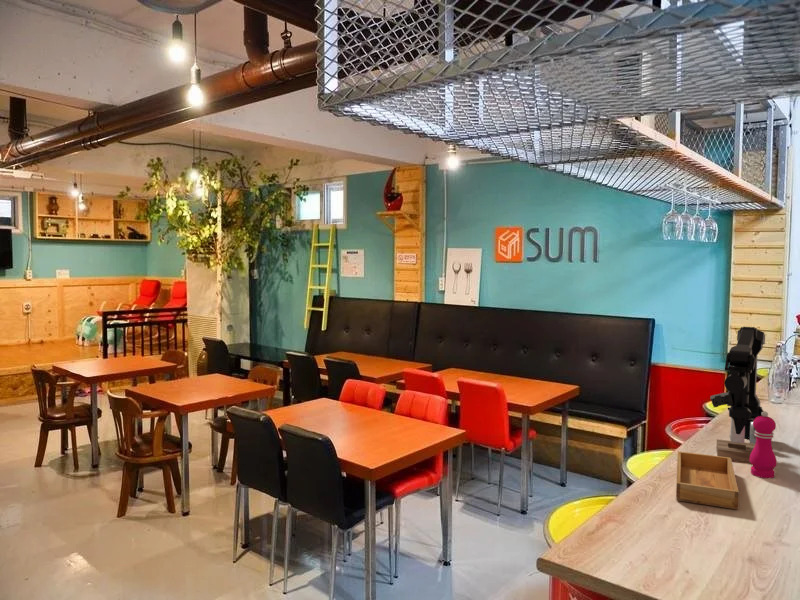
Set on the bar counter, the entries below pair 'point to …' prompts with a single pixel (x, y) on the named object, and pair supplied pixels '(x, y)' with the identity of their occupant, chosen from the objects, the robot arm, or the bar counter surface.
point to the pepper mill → (763, 447)
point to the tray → (706, 480)
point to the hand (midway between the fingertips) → (737, 432)
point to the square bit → (736, 437)
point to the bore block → (734, 450)
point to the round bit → (752, 433)
